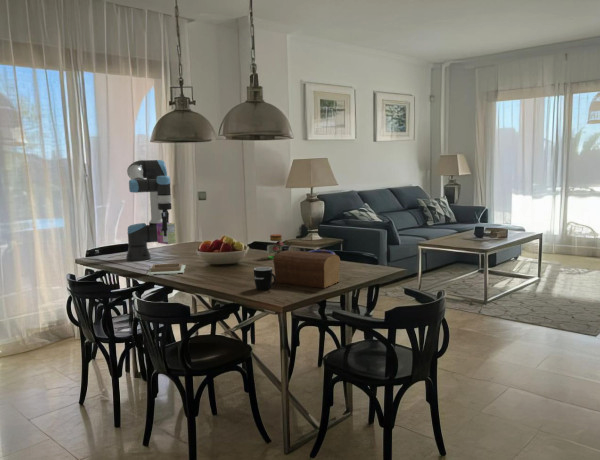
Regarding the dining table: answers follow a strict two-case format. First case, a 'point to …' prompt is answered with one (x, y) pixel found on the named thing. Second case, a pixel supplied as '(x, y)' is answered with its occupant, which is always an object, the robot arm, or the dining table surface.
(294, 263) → the wooden bread box
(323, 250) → the bowl
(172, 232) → the box
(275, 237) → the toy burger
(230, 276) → the dining table surface
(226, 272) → the dining table surface
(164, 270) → the white shallow tray
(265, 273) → the mug
